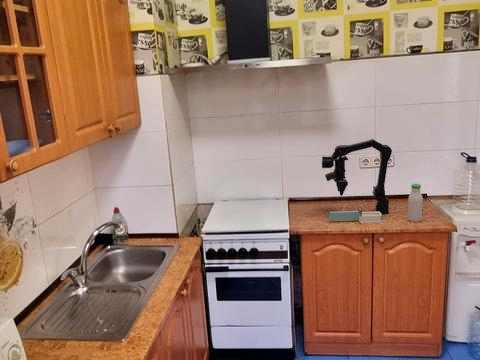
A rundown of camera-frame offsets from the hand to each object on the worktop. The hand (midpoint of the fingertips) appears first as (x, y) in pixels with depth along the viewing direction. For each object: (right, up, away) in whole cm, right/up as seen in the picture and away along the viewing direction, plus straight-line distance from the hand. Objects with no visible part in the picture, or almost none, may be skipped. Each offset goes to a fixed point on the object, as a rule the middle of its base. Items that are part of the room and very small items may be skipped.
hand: (340, 193), depth 248 cm
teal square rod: (0, -14, -12) cm, 18 cm away
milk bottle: (+37, -14, -16) cm, 43 cm away
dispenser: (+14, -15, -13) cm, 24 cm away
